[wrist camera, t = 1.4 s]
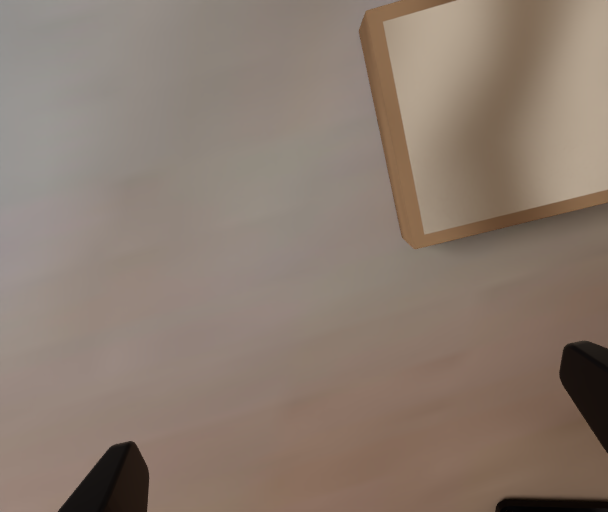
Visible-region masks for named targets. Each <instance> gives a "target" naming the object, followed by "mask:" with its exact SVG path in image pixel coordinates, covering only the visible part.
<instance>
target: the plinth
mask: <svg viewBox="0 0 608 512" xmlns="http://www.w3.org/2000/svg"><path fill="white" fill-rule="evenodd" d="M359 34H360V39H361V44H362V49H363V54H364V58H365V63H366V68H367V73H368V77H369V82H370V87H371V92H372V97H373V101H374V106H375V111H376V116H377V120H378V125H379V130H380V135H381V140H382V144H383V149H384V154H385V159H386V163H387V168H388V173H389V178H390V183H391V187H392V192H393V197H394V202H395V207H396V211H397V216H398V221H399V226H400V230H401V235H402V238H403V239H404V240H405V241H406V242H407V243H408V244H409V245H410V246H412V247H413V248H414V249H418V248H422V247H427V246H431V245H435V244H439V243H443V242H447V241H451V240H455V239H459V238H464V237H468V236H472V235H476V234H480V233H484V232H488V231H492V230H496V229H501V228H505V227H509V226H513V225H517V224H521V223H525V222H529V221H533V220H538V219H542V218H546V217H550V216H554V215H558V214H562V213H566V212H570V211H575V210H579V209H583V208H587V207H591V206H595V205H599V204H603V203H607V202H608V0H401V1H398V2H394V3H391V4H388V5H384V6H381V7H377V8H374V9H371V10H367V11H366V12H365V15H364V18H363V21H362V23H361V26H360V29H359Z"/></svg>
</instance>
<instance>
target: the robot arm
mask: <svg viewBox="0 0 608 512" xmlns="http://www.w3.org/2000/svg"><path fill="white" fill-rule="evenodd" d="M559 375H560V380H561V382H562V385H563V386H564V388H565V389H566V391H567V392H568V394H569V396H570V397H571V399H572V400H573V402H574V403H575V405H576V406H577V408H578V409H579V411H580V412H581V414H582V415H583V417H584V419H585V420H586V422H587V423H588V425H589V426H590V428H591V429H592V431H593V432H594V434H595V435H596V437H597V438H598V440H599V441H600V443H601V444H602V446H603V447H604V449H605V450H606V452H607V453H608V349H607V348H604V347H602V346H599V345H597V344H594V343H592V342H589V341H579V342H575V343H570V344H567V345H566V346H565V347H564V349H563V354H562V360H561V366H560V371H559ZM148 488H149V471H148V467H147V465H146V463H145V461H144V459H143V457H142V455H141V453H140V451H139V449H138V447H137V445H136V444H135V443H134V442H133V441H128V442H124V443H119V444H115V445H113V446H111V447H110V448H109V449H108V450H107V451H106V453H105V454H104V455H103V456H102V457H101V459H100V460H99V461H98V462H97V464H96V465H95V466H94V467H93V469H92V470H91V471H90V472H89V474H88V475H87V476H86V477H85V479H84V480H83V481H82V482H81V483H80V485H79V486H78V487H77V488H76V490H75V491H74V492H73V493H72V495H71V496H70V497H69V498H68V500H67V501H66V502H65V503H64V504H63V506H62V507H61V508H60V509H59V511H58V512H147V504H148ZM506 510H508V511H506ZM505 511H506V512H608V502H568V501H527V500H503V501H501V502H499V503H498V504H497V506H496V510H495V512H505Z"/></svg>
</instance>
